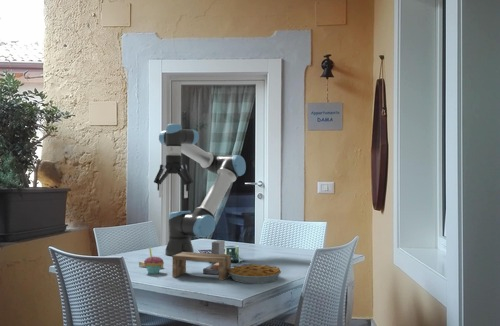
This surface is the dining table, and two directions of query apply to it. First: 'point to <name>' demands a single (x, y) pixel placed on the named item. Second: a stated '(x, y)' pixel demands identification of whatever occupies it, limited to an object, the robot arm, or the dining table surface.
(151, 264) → the cupcake
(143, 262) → the plain stick
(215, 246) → the hook tool
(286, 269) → the dining table surface
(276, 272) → the pie
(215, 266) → the block
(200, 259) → the shelf
